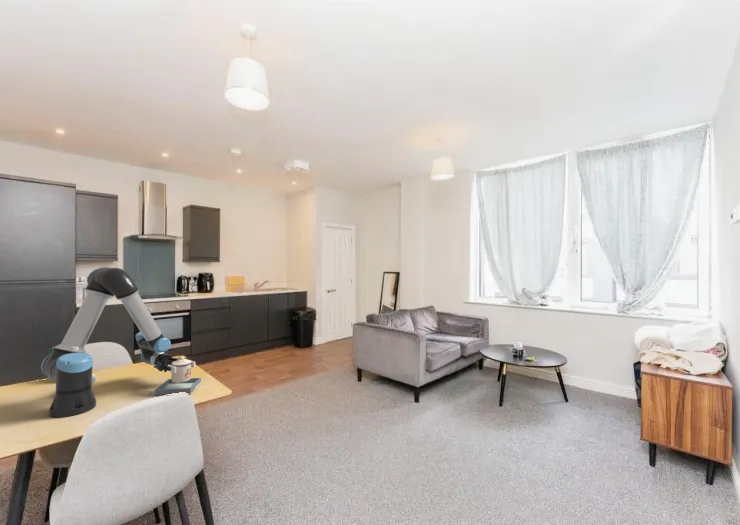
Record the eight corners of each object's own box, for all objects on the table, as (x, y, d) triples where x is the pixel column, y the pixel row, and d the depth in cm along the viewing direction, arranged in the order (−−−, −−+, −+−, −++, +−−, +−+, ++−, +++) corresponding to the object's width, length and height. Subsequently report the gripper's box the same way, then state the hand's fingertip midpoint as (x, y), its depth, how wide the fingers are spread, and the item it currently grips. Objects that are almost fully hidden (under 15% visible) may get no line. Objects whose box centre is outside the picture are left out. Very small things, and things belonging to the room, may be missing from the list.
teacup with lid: (188, 382, 163) (189, 359, 163) (168, 383, 161) (168, 360, 161) (194, 374, 175) (195, 352, 175) (176, 375, 172) (176, 353, 173)
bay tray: (190, 394, 161) (190, 388, 161) (154, 396, 158) (154, 389, 158) (201, 383, 176) (201, 377, 176) (168, 384, 173) (168, 378, 173)
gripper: (181, 361, 186) (205, 369, 174) (138, 372, 167) (162, 381, 155) (181, 348, 186) (205, 354, 174) (139, 357, 167) (162, 365, 155)
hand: (185, 367), depth 165 cm, fingers closed on teacup with lid, 9 cm apart
